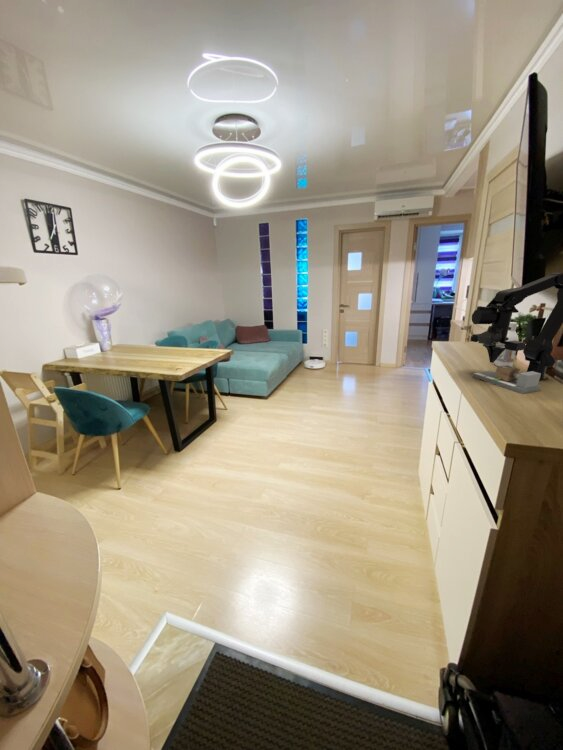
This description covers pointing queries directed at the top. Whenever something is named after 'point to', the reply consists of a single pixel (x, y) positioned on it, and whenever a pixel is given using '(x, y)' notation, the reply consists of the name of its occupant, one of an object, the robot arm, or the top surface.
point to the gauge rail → (521, 385)
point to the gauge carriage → (507, 373)
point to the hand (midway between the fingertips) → (491, 362)
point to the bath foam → (507, 355)
